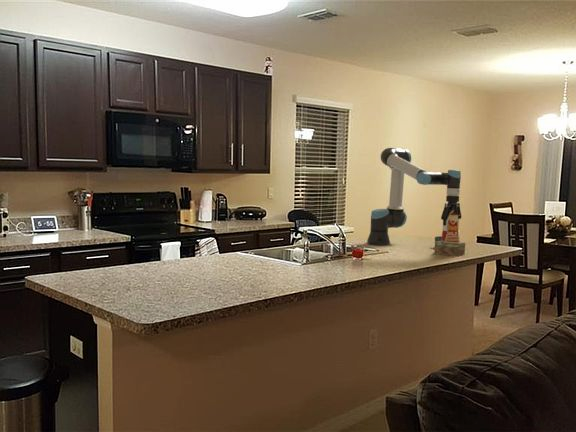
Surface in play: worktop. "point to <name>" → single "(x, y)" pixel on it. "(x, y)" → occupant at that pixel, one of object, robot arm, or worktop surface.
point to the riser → (449, 248)
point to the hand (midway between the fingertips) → (450, 230)
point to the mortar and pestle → (438, 238)
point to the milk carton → (451, 230)
